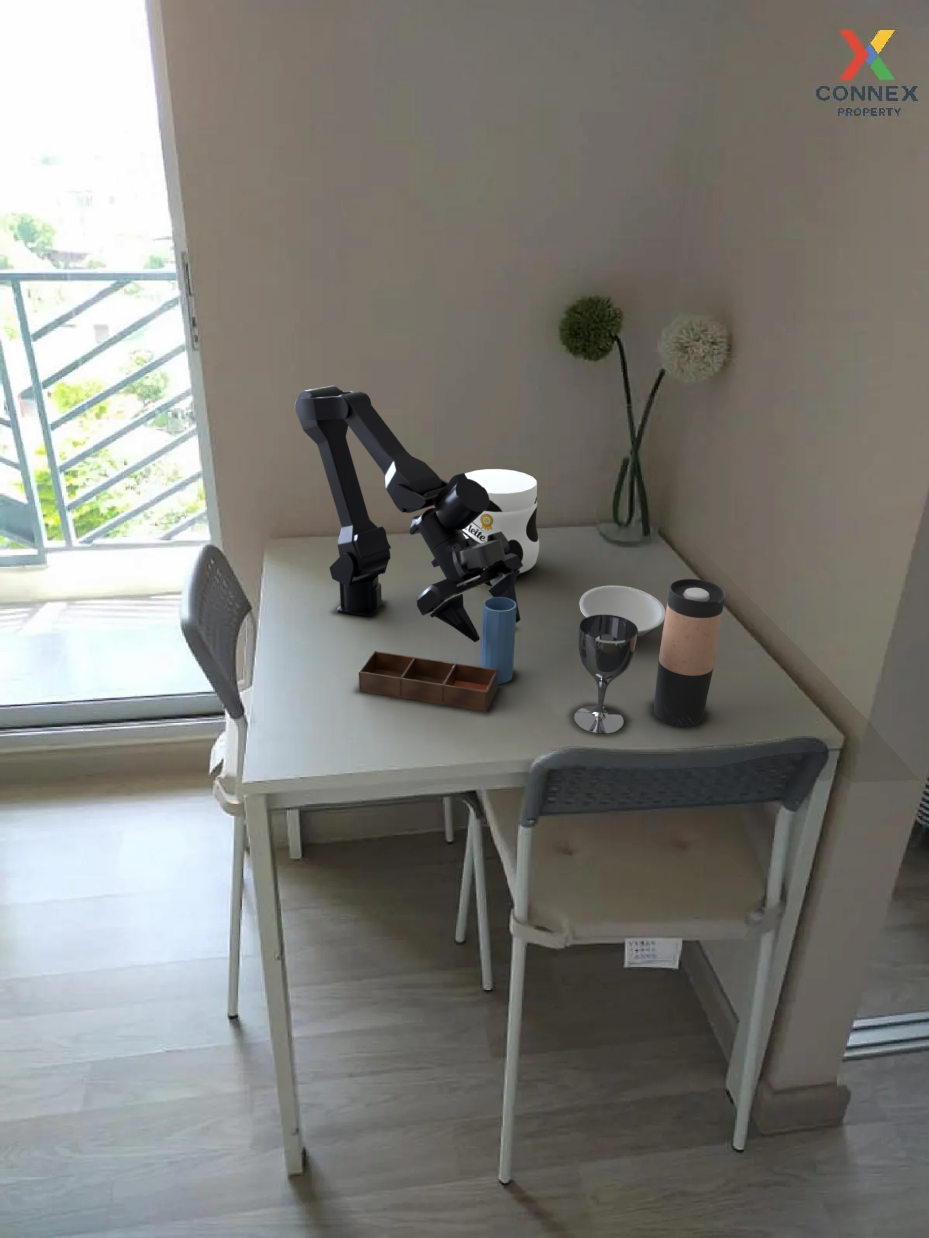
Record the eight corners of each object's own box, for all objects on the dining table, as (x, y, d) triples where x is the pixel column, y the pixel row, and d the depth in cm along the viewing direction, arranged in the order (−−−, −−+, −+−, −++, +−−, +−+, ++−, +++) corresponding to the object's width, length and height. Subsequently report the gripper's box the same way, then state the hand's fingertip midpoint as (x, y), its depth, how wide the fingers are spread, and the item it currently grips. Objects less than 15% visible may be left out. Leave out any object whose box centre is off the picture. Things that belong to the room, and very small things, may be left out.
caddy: (359, 691, 132) (358, 671, 130) (375, 669, 138) (374, 650, 136) (486, 712, 128) (487, 692, 126) (497, 688, 133) (498, 669, 132)
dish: (572, 609, 158) (574, 584, 156) (651, 611, 158) (654, 586, 156) (583, 657, 143) (585, 630, 140) (671, 659, 143) (675, 632, 140)
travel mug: (645, 699, 131) (662, 578, 122) (695, 698, 132) (715, 577, 123) (660, 728, 125) (678, 602, 116) (712, 727, 125) (734, 601, 116)
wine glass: (613, 741, 122) (624, 646, 115) (561, 723, 125) (569, 631, 118) (635, 715, 128) (646, 623, 121) (585, 698, 131) (594, 609, 124)
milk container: (437, 576, 170) (437, 487, 162) (470, 545, 185) (472, 463, 177) (521, 592, 165) (525, 501, 156) (549, 559, 179) (554, 474, 171)
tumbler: (477, 681, 135) (479, 608, 130) (484, 665, 140) (487, 595, 134) (508, 686, 134) (512, 613, 129) (515, 670, 139) (519, 599, 133)
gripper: (429, 534, 123) (484, 629, 121) (516, 504, 135) (568, 590, 133) (393, 569, 131) (444, 659, 130) (478, 538, 144) (526, 620, 142)
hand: (498, 631), depth 133 cm, fingers open, 9 cm apart
